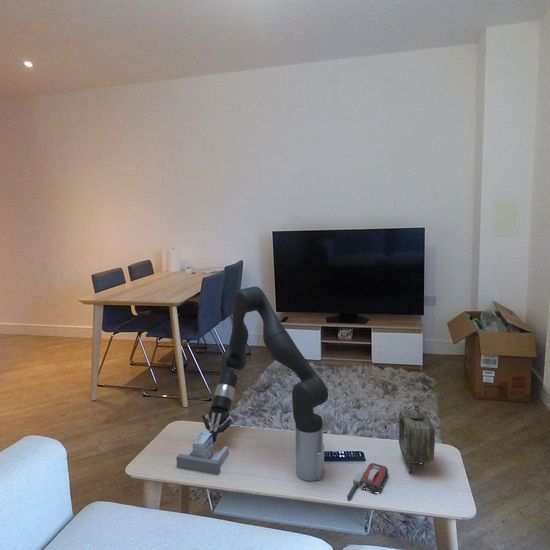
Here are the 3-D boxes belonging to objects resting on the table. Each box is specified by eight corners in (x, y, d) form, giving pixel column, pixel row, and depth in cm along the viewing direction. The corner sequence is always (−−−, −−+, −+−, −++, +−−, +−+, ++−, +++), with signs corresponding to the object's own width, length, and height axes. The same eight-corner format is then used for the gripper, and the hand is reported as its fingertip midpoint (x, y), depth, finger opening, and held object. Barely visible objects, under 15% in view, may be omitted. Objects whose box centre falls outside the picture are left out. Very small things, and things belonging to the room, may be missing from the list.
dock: (232, 454, 153) (231, 444, 153) (218, 474, 141) (217, 464, 141) (193, 448, 158) (193, 438, 157) (176, 467, 146) (176, 456, 145)
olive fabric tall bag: (398, 452, 153) (399, 388, 150) (423, 453, 152) (425, 389, 149) (406, 476, 139) (408, 406, 135) (434, 477, 138) (437, 407, 134)
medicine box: (205, 466, 146) (204, 444, 145) (193, 465, 147) (192, 442, 146) (213, 454, 154) (212, 432, 152) (202, 453, 155) (201, 431, 153)
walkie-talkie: (364, 466, 145) (344, 500, 128) (364, 455, 145) (344, 487, 127) (389, 474, 141) (372, 510, 124) (389, 462, 140) (372, 496, 123)
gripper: (205, 392, 163) (191, 437, 153) (235, 396, 159) (223, 442, 149) (211, 399, 168) (198, 443, 159) (241, 403, 164) (230, 448, 155)
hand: (210, 442), depth 154 cm, fingers closed
